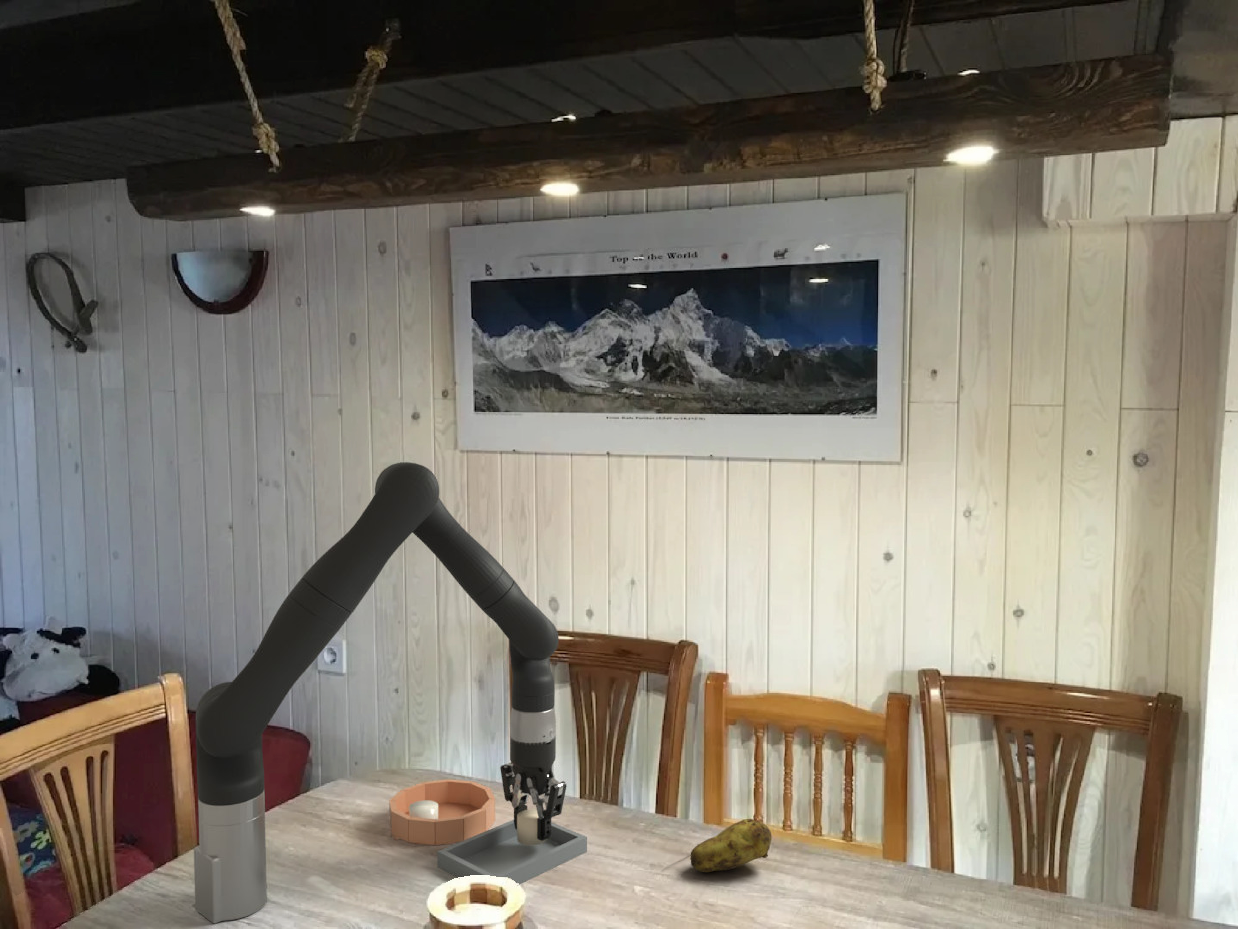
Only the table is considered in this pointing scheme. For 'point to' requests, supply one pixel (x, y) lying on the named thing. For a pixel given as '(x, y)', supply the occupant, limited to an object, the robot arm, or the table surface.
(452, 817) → the bowl
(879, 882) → the table surface
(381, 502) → the robot arm
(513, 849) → the tray
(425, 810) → the pebble
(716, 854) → the potato
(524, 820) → the pebble
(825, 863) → the table surface
